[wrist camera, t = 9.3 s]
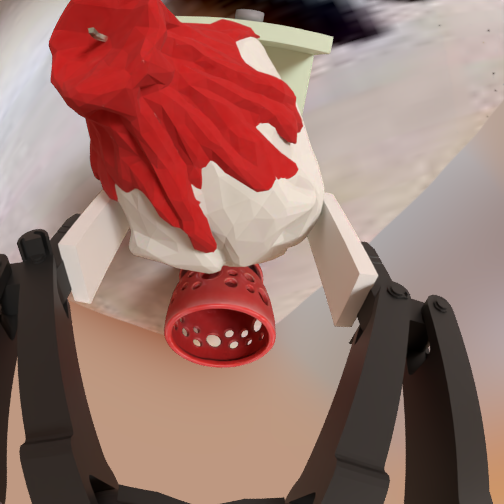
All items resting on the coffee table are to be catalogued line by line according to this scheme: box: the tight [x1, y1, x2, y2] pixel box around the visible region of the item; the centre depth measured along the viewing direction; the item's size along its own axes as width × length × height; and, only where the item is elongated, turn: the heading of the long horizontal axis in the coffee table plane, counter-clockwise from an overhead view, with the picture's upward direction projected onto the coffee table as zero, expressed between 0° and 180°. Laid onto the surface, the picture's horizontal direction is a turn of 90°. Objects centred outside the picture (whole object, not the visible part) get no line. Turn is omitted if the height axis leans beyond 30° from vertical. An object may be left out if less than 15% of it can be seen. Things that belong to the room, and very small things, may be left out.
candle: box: [49, 0, 324, 274], centre depth 11 cm, size 9×11×15 cm
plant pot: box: [164, 264, 276, 367], centre depth 38 cm, size 13×13×12 cm
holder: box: [175, 9, 333, 254], centre depth 28 cm, size 25×14×7 cm, turn 172°
